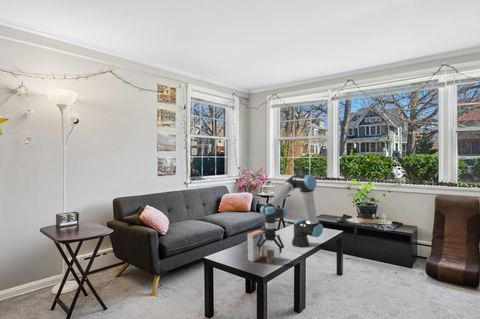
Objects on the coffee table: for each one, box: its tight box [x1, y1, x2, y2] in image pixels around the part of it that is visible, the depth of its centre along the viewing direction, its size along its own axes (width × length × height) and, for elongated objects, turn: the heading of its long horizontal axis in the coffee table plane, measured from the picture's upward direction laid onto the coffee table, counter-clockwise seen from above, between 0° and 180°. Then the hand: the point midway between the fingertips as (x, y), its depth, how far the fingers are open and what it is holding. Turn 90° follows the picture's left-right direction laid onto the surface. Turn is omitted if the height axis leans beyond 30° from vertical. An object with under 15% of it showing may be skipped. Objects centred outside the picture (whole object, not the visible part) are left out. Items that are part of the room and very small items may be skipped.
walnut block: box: [266, 249, 275, 265], centre depth 218 cm, size 5×5×9 cm
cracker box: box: [247, 229, 265, 263], centre depth 227 cm, size 14×6×21 cm, turn 138°
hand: (270, 256), depth 218 cm, fingers open, 13 cm apart
